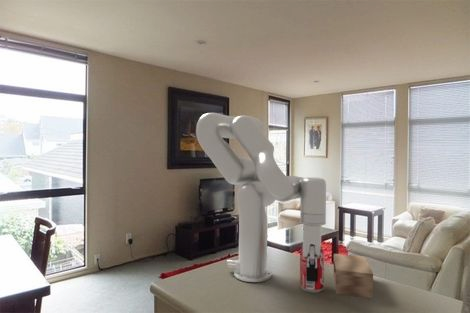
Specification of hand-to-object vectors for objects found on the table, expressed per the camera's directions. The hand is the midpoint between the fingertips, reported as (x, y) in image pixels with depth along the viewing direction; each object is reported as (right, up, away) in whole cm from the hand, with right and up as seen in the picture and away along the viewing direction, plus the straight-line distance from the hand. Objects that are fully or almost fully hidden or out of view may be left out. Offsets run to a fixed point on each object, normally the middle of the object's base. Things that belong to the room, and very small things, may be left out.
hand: (312, 275), depth 94 cm
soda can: (0, -4, 0) cm, 4 cm away
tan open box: (+13, -4, +3) cm, 14 cm away
